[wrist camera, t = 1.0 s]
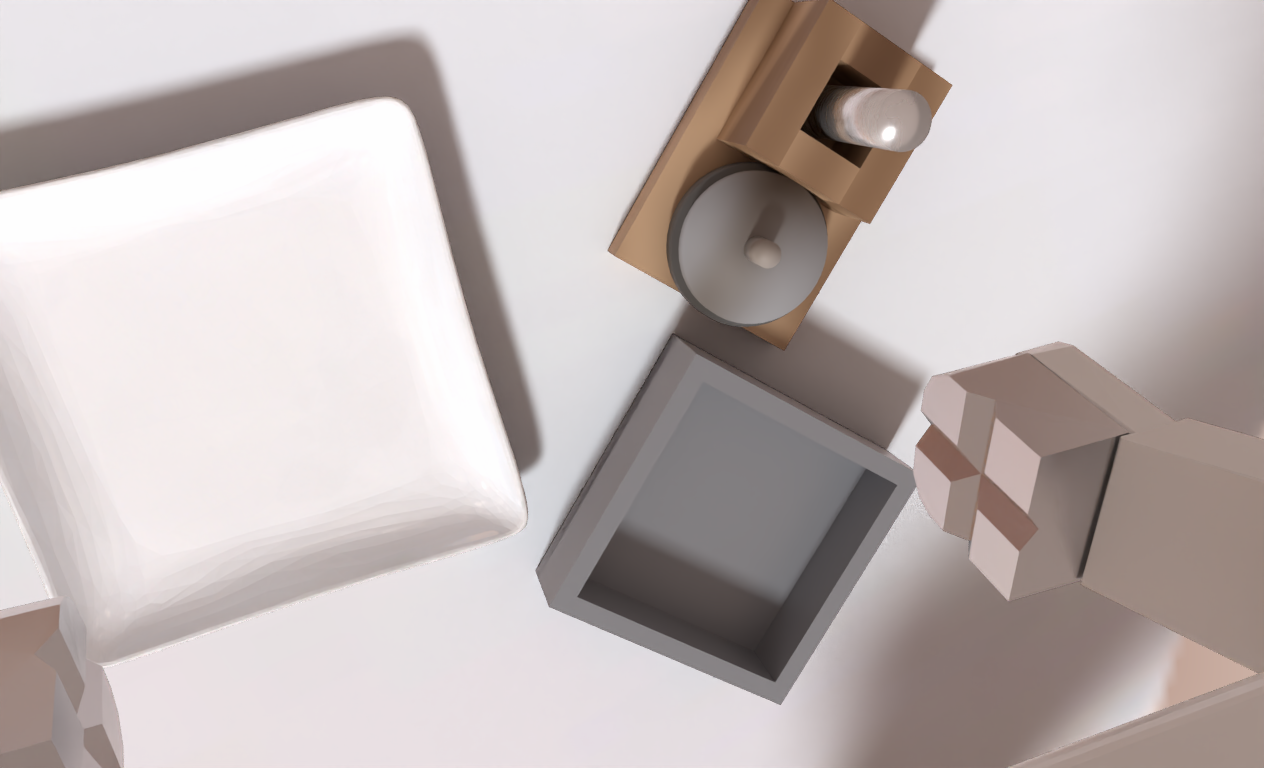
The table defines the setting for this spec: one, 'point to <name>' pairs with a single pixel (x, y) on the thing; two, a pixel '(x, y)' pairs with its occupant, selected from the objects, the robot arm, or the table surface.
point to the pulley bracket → (769, 168)
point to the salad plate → (243, 379)
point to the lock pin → (870, 117)
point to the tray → (724, 524)
